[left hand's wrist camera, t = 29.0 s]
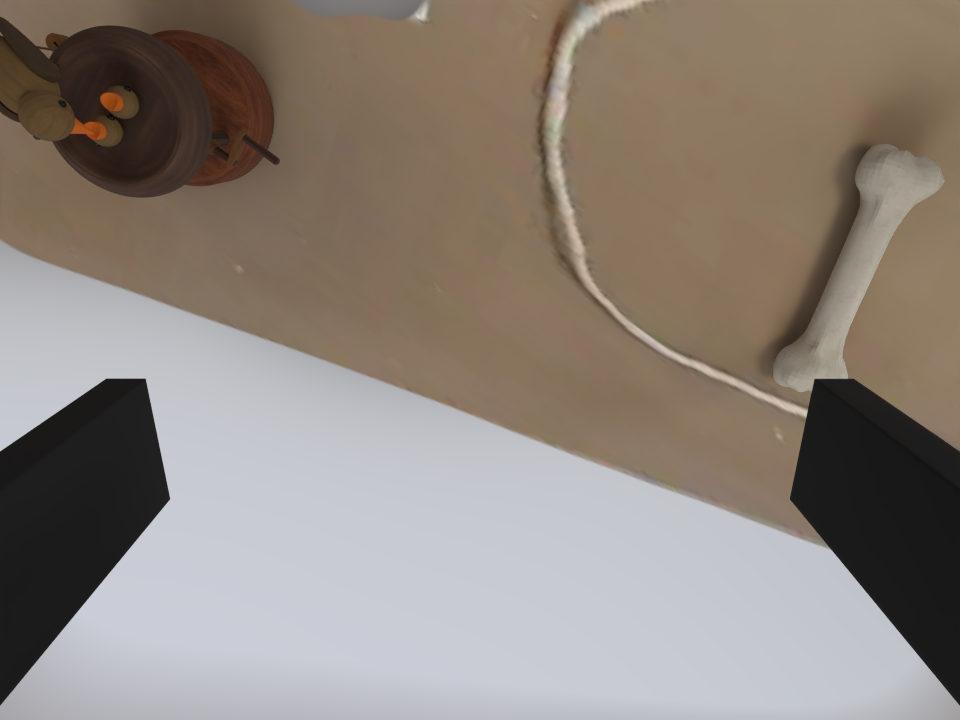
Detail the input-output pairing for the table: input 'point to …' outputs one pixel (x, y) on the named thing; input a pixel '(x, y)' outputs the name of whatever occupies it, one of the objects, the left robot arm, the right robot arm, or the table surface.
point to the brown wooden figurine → (139, 106)
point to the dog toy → (857, 261)
